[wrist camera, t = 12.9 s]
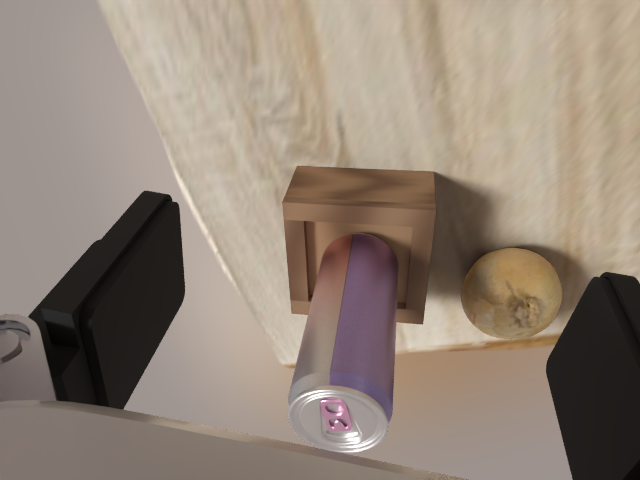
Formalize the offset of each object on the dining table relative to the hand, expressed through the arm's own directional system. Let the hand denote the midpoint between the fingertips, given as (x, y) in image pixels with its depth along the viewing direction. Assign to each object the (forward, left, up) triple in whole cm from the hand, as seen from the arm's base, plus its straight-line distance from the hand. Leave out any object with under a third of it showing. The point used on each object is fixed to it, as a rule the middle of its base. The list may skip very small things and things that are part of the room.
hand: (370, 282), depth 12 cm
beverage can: (-1, +17, -23) cm, 29 cm away
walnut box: (-1, +17, -28) cm, 33 cm away
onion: (-14, +19, -28) cm, 37 cm away
